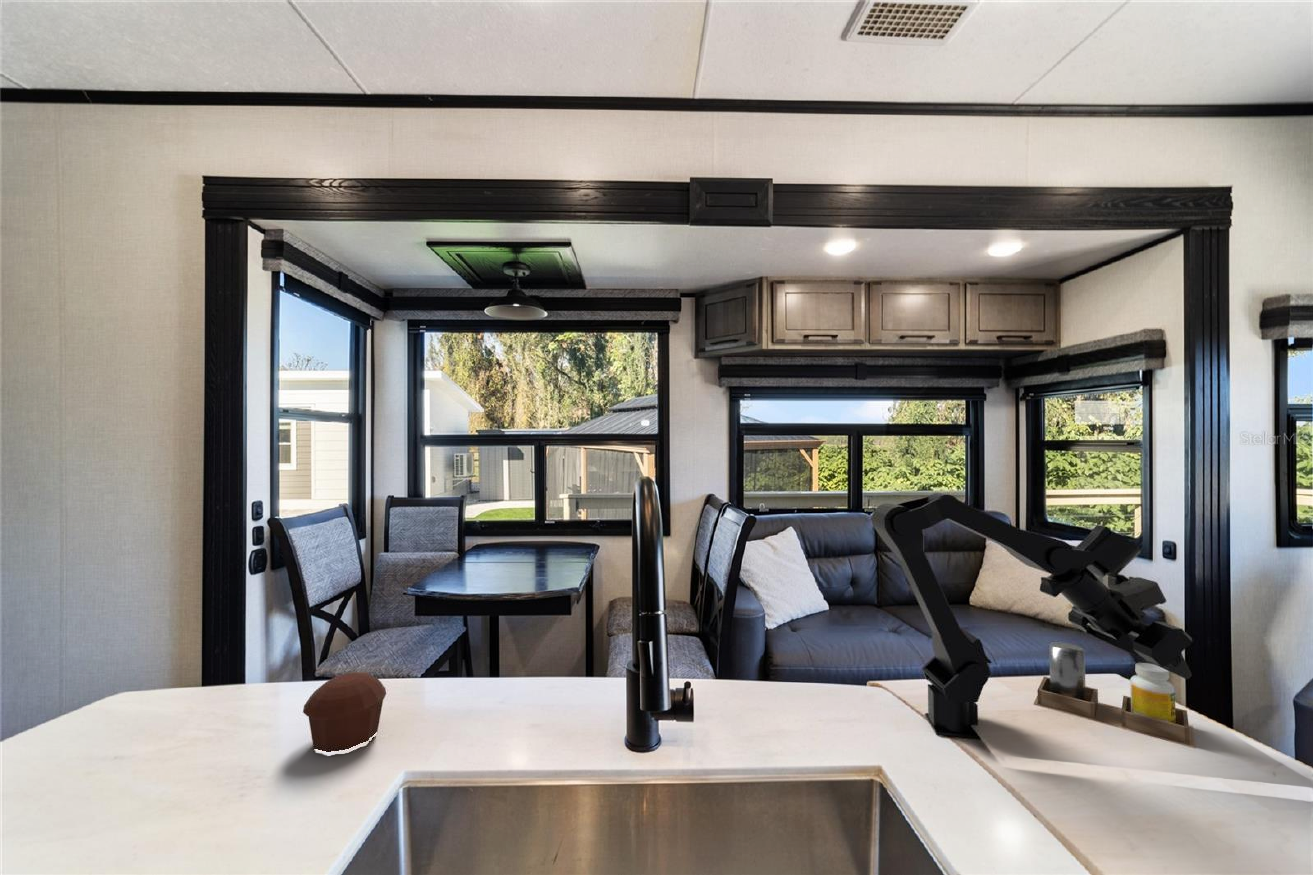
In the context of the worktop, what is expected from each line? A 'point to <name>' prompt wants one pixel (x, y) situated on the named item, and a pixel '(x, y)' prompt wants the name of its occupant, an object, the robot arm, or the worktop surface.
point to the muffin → (345, 711)
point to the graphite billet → (1067, 670)
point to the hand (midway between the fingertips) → (1162, 665)
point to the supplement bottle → (1152, 693)
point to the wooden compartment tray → (1117, 715)
